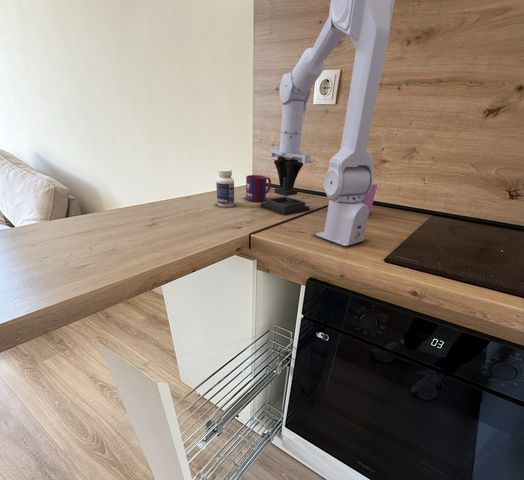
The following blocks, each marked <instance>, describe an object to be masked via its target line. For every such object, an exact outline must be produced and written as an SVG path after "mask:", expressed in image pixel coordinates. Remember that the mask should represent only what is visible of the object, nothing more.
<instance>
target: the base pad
mask: <svg viewBox="0 0 524 480" xmlns="http://www.w3.org/2000/svg"><path fill="white" fill-rule="evenodd" d="M260 208H263V209H266V210H269V211H272V212H275V213H278V214H281V215H283V216H286V215H290V214H294V213H295V214H296V213H301V212H305V211H309V210H310V206H309V205H306V202H305V201H303V200H300V199H297V198H293V197H290V196H278V197H273V198H266V199H265V201H264V202H261V203H260Z"/></svg>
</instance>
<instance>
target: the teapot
mask: <svg viewBox="0 0 524 480" xmlns="http://www.w3.org/2000/svg"><path fill="white" fill-rule="evenodd" d="M377 188H378V183H375V182H373V184H372V188H371V190H370V191H369V193H368V194H367V195H365V196H364V200H362V201H361V202H362V204H364V205H366V206H368V207H369V213H371V212H372V208H373V204H374V200H375V196H376V191H377Z"/></svg>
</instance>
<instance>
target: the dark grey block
mask: <svg viewBox="0 0 524 480" xmlns="http://www.w3.org/2000/svg"><path fill="white" fill-rule="evenodd" d="M286 184H287V177H283V186H282V187H276V188H274V194H277V195H280V196H282V197H284V196H286V197H290V196H294V195H298V189H295V188H292V189H287V185H286Z"/></svg>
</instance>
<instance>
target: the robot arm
mask: <svg viewBox="0 0 524 480" xmlns="http://www.w3.org/2000/svg"><path fill="white" fill-rule="evenodd" d="M395 3H396V0H330V3H329V10H328V11H329V13H328V18H327V19H326V21H325V23H324V24H323V27H322V29H321V31H320V33H319V34H318V37H317V38H316V41H315V42H314V44H313V46H312V47H308V48H306V49H305V50H304V51H303V53H302V55H301V57H300V58H299V60H298V61H297V63H296V65H295V66H294V68H293V69H292V71H291V72H290V71H289V72H288V73H284V74H283V75H282V77H281V81H280V84H279V100H280V102H281V103H282V110H281V111H282V112H281V123H280V124H281V125H280V140H279V149H277V148H270V149H269V157H271V158H277V159H274V161H273V162H274V165H275V168H276V172H277V175H278V182H279V188H282V186H283V177H287V184H286V185H287V189H294V186H295V183H296V180H297V178H298V175H299V173H300V171H301V169H302V168H303V166H304V164H306V165H307V164H310V161H311V154H306V153H303V152H300V151H301V150H300V149H301V140H302V131H303V120H304V114H305V113H306V110H307V104H308V101H309V99H310V95H311V89H312V88H313V86H314V84H315V83H316V82H317V80H318V79H319V78H320V76H322V73H323V72H324V69H325V60H326V59H327V58H328V57H329V55H331V53H332V52H333V51H334V49H336V47H337V46H338V45H339V43H340V42H341V41H342V40H343V38H345V36H347V37H348V38H349V39H350V42H351V43H352V45H353V46H354V49H355V55H354V62H353V68H352V75H351V80H350V87H349V94H348V99H347V106H346V111H345V112H346V113H345V119H344V126H343V132H342V139H341V145H340V149H339V150H338V151H337V152H336V153H335V154H334V155H333V156H332V157H331V158H330V160H329V165H328V169H327V172H326V174H325V177H324V179H323V188H324V193H325V194H326V198H327V199H328V206H327V211H326V212H327V213H326V218H325V223H324V230H323V231H320V232H317V233H316V234H315V235H316V236H317V237H318V238H322V239H325V240H327V241H330V242H332V243H335V244H338V245H340V246H343V247H348V246H351V245H355V244H357V243H360V242H364V241H365V240H366V239H365V237H364V236H365V232H366V229H367V225H368V220H369V217H370V212H369V207H368V206H366V205H364V204H362V202H361V201H362V200H364V196H365V195H367V194H368V193H369V191H370V190H371V188H372V184H373V183H374V166H375V160H374V158H373V157H372V156H371V155H370V154H369V152H368V151H367V148H368V144H369V140H370V133H371V129H372V124H373V118H374V113H375V108H376V103H377V99H378V95H379V94H378V93H379V89H380V82H381V78H382V73H383V68H384V63H385V58H386V53H387V48H388V43H389V37H390V30H391V24H392V18H393V14H394V13H393V12H394V8H395Z"/></svg>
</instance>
